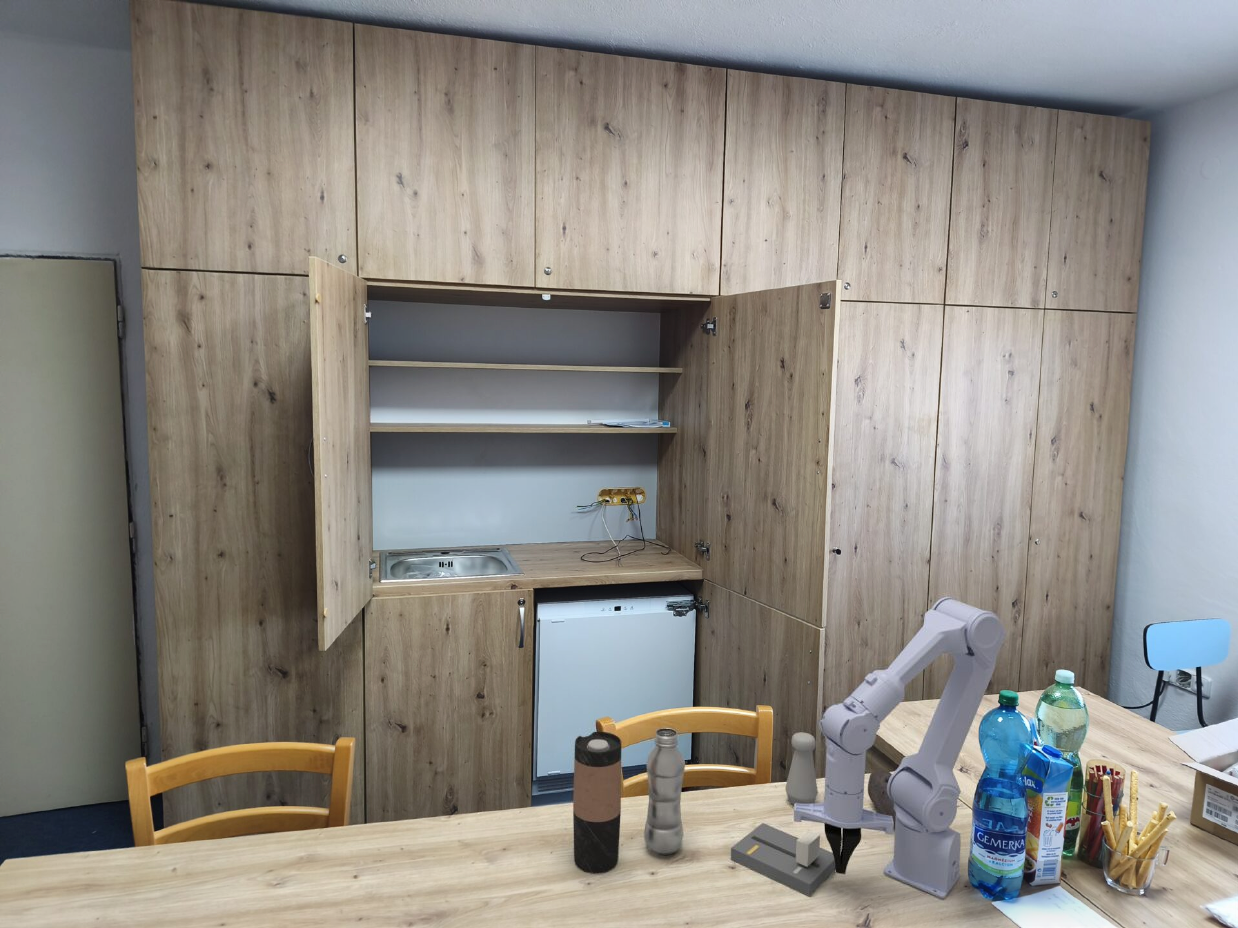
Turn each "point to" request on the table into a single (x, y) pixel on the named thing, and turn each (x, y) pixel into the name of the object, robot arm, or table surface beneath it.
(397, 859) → the table surface
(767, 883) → the table surface
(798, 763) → the salt shaker
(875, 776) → the perforated stone tool
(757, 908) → the table surface
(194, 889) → the table surface
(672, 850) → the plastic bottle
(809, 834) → the fader tab
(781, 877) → the console board
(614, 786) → the travel mug
